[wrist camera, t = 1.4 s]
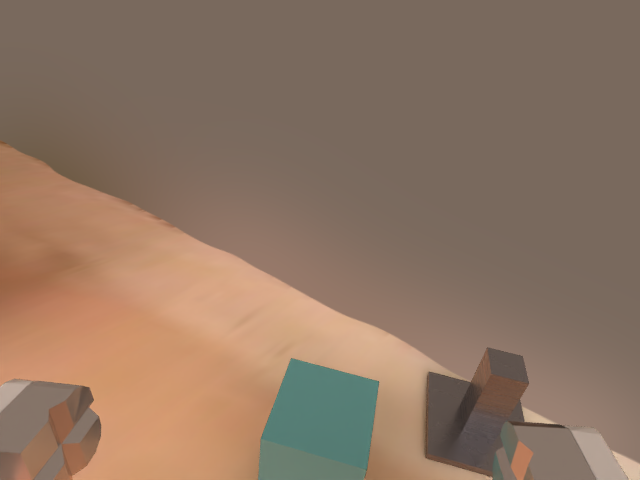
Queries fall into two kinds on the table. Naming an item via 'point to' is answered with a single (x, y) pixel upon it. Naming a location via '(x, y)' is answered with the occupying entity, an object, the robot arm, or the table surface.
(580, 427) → the robot arm
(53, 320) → the table surface
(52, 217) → the table surface
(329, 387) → the teal upright pillar
